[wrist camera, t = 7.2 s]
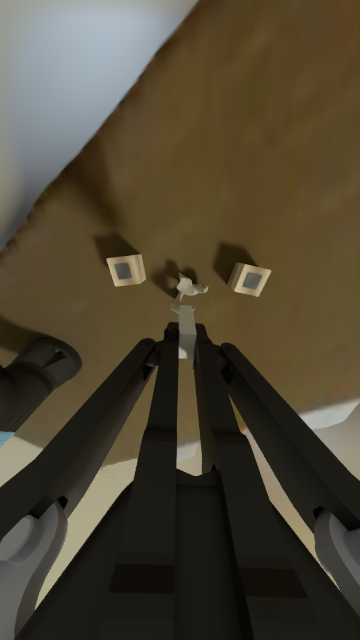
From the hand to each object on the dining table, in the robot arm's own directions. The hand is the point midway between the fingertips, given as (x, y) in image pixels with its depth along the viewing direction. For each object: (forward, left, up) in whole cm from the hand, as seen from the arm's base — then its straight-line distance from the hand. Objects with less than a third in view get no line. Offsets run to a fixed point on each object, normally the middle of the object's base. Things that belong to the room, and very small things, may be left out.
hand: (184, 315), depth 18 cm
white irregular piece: (0, 0, -16) cm, 16 cm away
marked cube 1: (+12, +3, -15) cm, 20 cm away
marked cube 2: (-12, +3, -15) cm, 20 cm away
